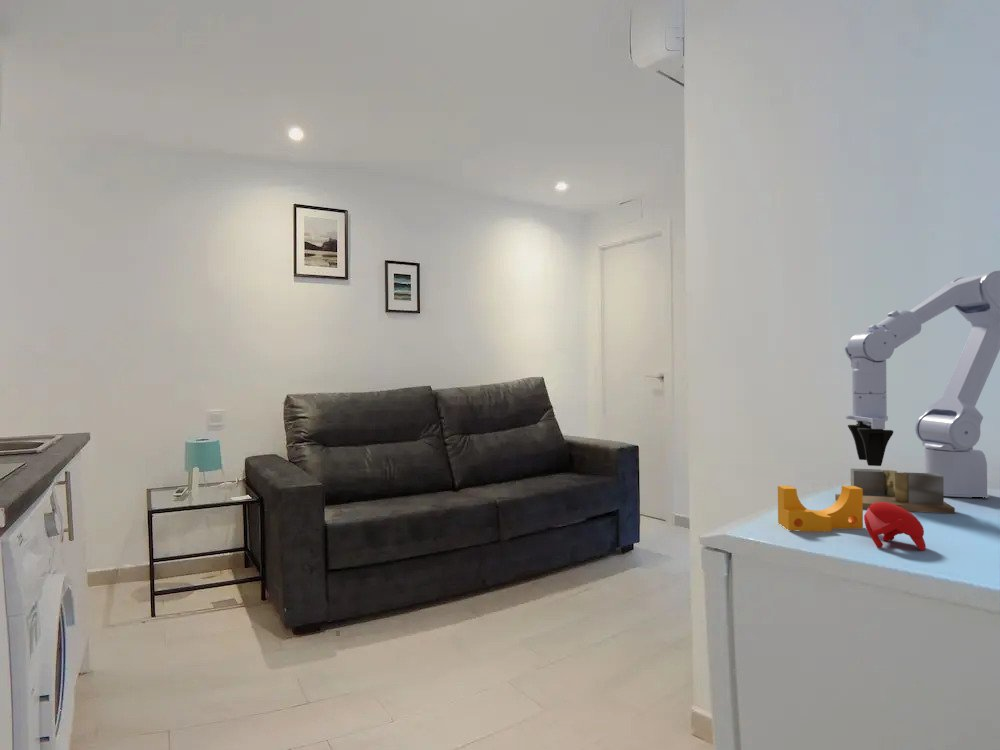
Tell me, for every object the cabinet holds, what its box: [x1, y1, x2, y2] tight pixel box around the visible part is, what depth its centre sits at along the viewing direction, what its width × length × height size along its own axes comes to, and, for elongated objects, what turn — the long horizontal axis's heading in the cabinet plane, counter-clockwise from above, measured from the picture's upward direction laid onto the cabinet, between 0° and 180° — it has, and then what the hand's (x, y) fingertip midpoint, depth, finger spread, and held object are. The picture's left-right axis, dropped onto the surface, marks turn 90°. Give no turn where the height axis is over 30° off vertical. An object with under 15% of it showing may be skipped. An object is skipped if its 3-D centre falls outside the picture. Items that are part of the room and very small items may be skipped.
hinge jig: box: [834, 472, 956, 514], centre depth 109 cm, size 17×7×6 cm, turn 70°
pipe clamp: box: [777, 485, 864, 532], centre depth 96 cm, size 12×4×6 cm, turn 85°
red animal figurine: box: [863, 502, 927, 552], centre depth 86 cm, size 8×6×6 cm
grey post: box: [850, 468, 898, 497], centre depth 118 cm, size 8×3×5 cm, turn 70°
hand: (869, 462), depth 118 cm, fingers open, 7 cm apart
